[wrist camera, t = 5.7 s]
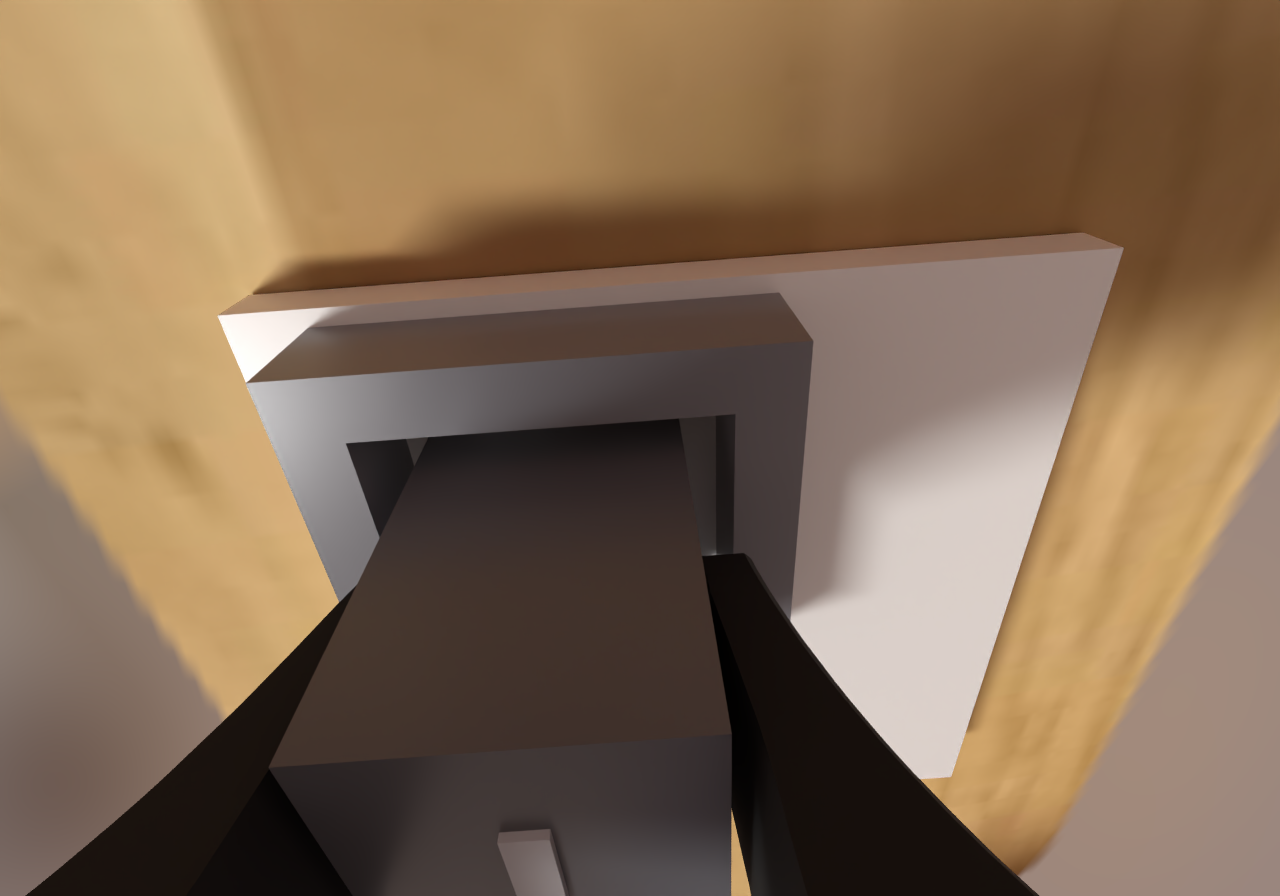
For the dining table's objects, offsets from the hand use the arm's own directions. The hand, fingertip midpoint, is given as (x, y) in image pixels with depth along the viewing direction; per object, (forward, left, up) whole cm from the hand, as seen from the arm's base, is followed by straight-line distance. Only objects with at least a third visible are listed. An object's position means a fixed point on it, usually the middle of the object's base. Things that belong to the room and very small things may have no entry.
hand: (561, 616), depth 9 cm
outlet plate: (-3, -2, -4) cm, 5 cm away
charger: (0, 0, -3) cm, 3 cm away
